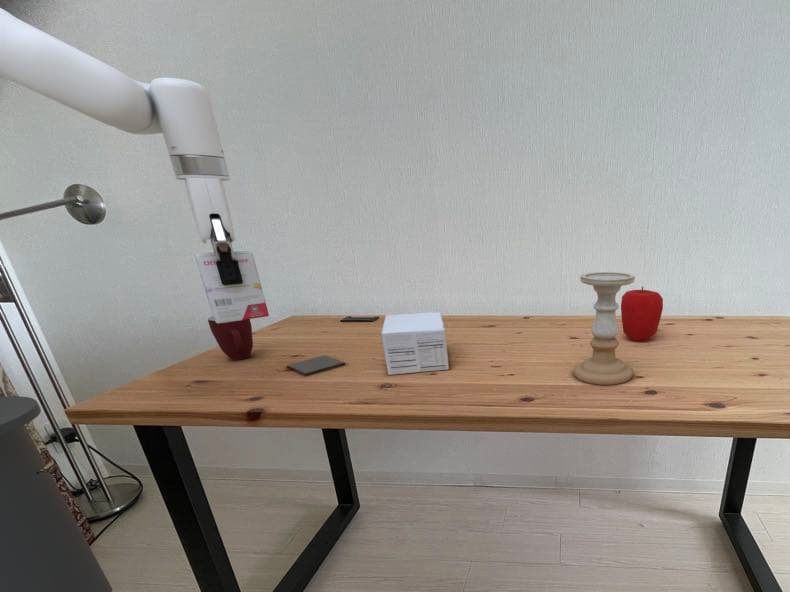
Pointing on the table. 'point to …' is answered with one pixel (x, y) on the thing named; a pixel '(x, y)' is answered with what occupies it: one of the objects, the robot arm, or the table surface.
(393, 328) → the supplement box
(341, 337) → the table surface
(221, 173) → the robot arm
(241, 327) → the mug
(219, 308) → the ink box
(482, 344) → the table surface
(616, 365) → the candle holder
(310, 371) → the coaster
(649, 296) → the apple
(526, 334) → the table surface
